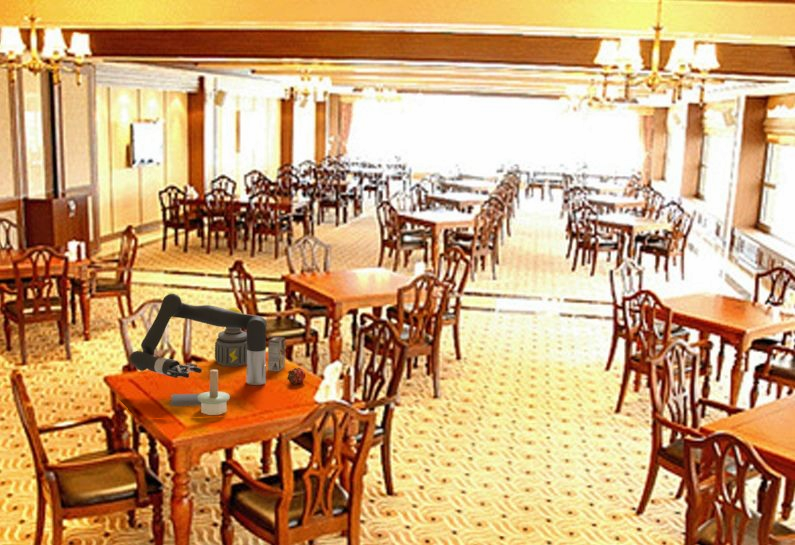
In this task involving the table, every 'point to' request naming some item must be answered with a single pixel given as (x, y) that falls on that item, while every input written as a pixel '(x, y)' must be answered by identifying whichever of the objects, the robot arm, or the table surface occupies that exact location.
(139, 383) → the table surface
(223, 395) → the lid
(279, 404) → the table surface
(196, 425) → the table surface
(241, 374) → the table surface
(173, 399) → the mat
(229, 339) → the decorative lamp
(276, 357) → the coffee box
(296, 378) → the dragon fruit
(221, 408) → the bowl
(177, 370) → the robot arm
